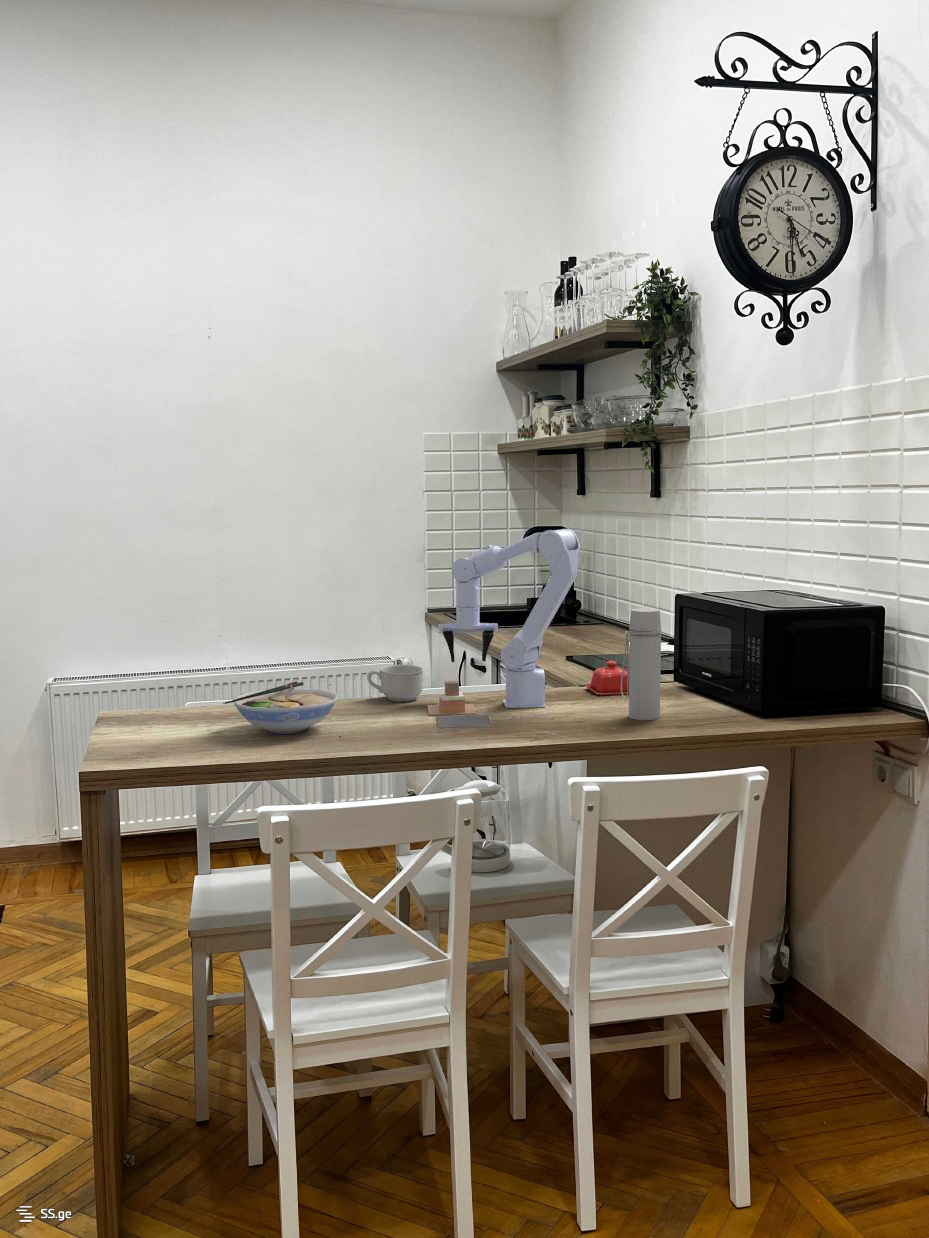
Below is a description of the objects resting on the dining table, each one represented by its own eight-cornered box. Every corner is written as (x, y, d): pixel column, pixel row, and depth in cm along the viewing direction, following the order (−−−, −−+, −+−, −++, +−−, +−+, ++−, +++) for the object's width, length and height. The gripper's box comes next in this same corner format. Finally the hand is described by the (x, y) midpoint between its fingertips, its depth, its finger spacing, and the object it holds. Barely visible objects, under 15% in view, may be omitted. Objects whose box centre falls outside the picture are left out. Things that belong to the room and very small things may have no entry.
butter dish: (640, 697, 270) (641, 663, 269) (596, 699, 267) (597, 665, 266) (625, 688, 281) (625, 656, 280) (583, 690, 279) (583, 658, 278)
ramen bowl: (288, 748, 218) (287, 709, 217) (207, 735, 230) (206, 698, 229) (363, 725, 239) (362, 689, 238) (285, 714, 251) (284, 680, 250)
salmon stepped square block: (472, 705, 259) (472, 691, 259) (476, 715, 248) (476, 700, 248) (427, 706, 258) (427, 692, 258) (429, 716, 248) (428, 701, 247)
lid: (461, 695, 254) (461, 679, 254) (464, 699, 249) (464, 683, 249) (439, 696, 253) (439, 680, 253) (442, 700, 248) (442, 684, 248)
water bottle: (664, 717, 244) (666, 608, 241) (655, 724, 237) (657, 612, 234) (625, 714, 248) (626, 607, 245) (615, 721, 241) (616, 610, 238)
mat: (487, 716, 247) (487, 714, 247) (492, 728, 235) (492, 726, 235) (435, 717, 246) (435, 716, 246) (438, 729, 234) (438, 727, 234)
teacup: (426, 695, 273) (425, 664, 272) (420, 704, 262) (420, 671, 261) (372, 694, 274) (371, 664, 273) (364, 703, 264) (363, 671, 263)
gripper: (495, 604, 267) (495, 657, 269) (437, 605, 266) (438, 659, 268) (498, 607, 260) (498, 662, 262) (438, 608, 259) (439, 663, 261)
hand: (468, 661), depth 264 cm, fingers open, 7 cm apart
